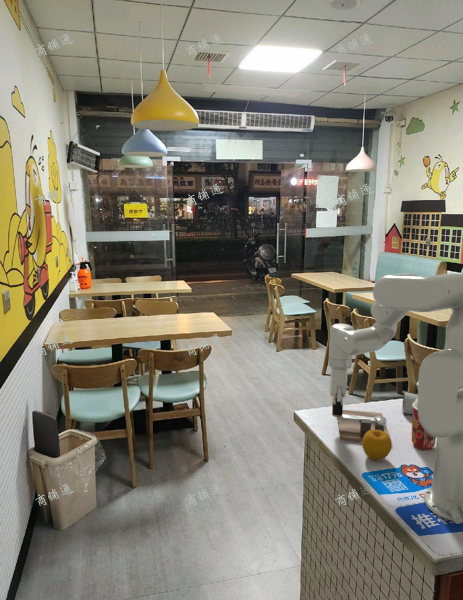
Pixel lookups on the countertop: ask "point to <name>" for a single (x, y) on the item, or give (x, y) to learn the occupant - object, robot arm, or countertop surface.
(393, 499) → the countertop surface
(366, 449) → the apple
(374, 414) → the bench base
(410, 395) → the ceramic mug
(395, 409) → the countertop surface
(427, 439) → the smoothie
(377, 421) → the lever
